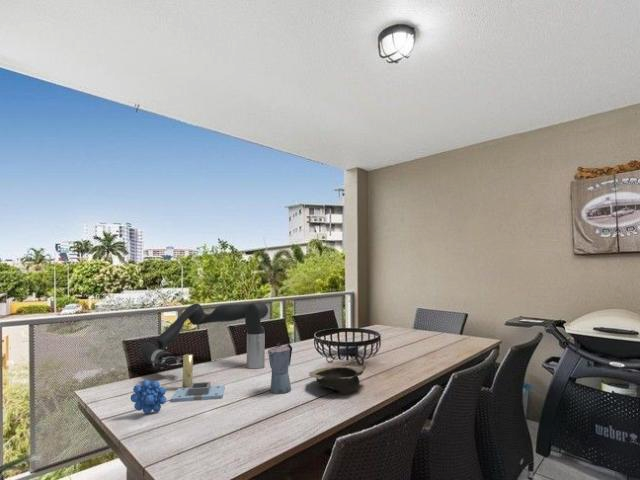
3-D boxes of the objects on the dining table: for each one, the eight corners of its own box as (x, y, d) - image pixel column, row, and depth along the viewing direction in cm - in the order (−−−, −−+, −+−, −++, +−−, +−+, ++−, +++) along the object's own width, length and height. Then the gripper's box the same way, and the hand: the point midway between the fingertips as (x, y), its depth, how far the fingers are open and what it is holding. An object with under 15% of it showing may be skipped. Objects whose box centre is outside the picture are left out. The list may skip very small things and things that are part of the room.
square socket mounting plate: (224, 388, 151) (224, 379, 152) (222, 398, 140) (222, 388, 140) (178, 391, 148) (178, 382, 148) (171, 401, 136) (172, 392, 136)
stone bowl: (364, 399, 137) (362, 375, 138) (303, 400, 142) (301, 376, 143) (368, 379, 161) (367, 358, 162) (316, 380, 166) (314, 360, 167)
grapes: (130, 422, 118) (131, 385, 119) (129, 414, 124) (130, 380, 125) (167, 414, 124) (168, 379, 125) (165, 408, 130) (166, 374, 131)
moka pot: (260, 393, 144) (260, 344, 146) (281, 382, 158) (281, 337, 160) (279, 397, 140) (280, 346, 141) (299, 386, 154) (299, 339, 155)
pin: (192, 386, 153) (193, 353, 155) (191, 389, 150) (192, 356, 151) (183, 387, 153) (184, 354, 154) (181, 390, 149) (182, 356, 150)
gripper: (176, 363, 175) (191, 370, 164) (146, 369, 165) (160, 377, 154) (176, 348, 176) (192, 353, 164) (147, 353, 165) (161, 359, 154)
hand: (176, 364), depth 159 cm, fingers open, 8 cm apart
